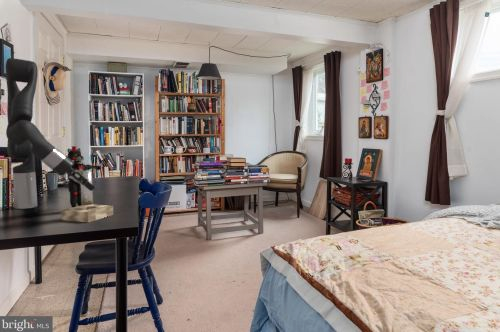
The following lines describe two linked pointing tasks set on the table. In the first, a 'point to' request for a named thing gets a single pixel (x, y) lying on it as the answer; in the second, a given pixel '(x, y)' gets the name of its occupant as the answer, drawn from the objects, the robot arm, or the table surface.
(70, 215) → the socket
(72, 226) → the table surface
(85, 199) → the pin
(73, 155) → the toy
